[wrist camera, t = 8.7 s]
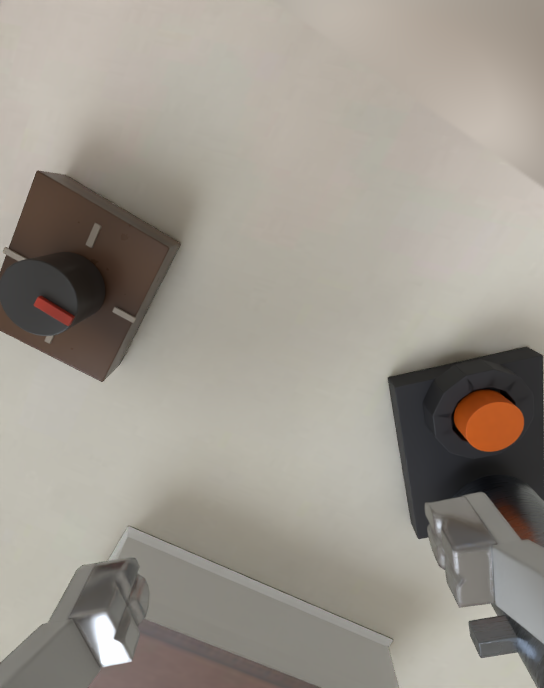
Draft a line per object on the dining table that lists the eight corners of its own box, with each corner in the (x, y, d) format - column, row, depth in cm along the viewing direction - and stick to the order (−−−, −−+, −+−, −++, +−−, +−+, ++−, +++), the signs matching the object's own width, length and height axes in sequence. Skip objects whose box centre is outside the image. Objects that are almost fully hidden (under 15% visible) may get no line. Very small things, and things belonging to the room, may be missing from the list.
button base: (386, 368, 28) (401, 389, 24) (526, 336, 27) (562, 354, 24) (411, 523, 33) (426, 558, 29) (531, 500, 32) (561, 534, 28)
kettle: (414, 489, 27) (524, 705, 15) (535, 465, 26) (746, 673, 15) (426, 567, 30) (528, 805, 18) (536, 547, 29) (719, 781, 17)
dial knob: (26, 294, 23) (-19, 309, 19) (55, 237, 22) (12, 243, 18) (87, 331, 24) (54, 352, 20) (117, 278, 23) (88, 291, 19)
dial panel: (63, 173, 24) (32, 168, 21) (182, 244, 25) (170, 249, 22) (10, 309, 26) (-23, 321, 23) (120, 365, 28) (102, 384, 25)
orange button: (451, 395, 25) (463, 408, 23) (507, 383, 25) (523, 396, 23) (455, 441, 26) (467, 457, 25) (509, 430, 26) (525, 445, 24)
